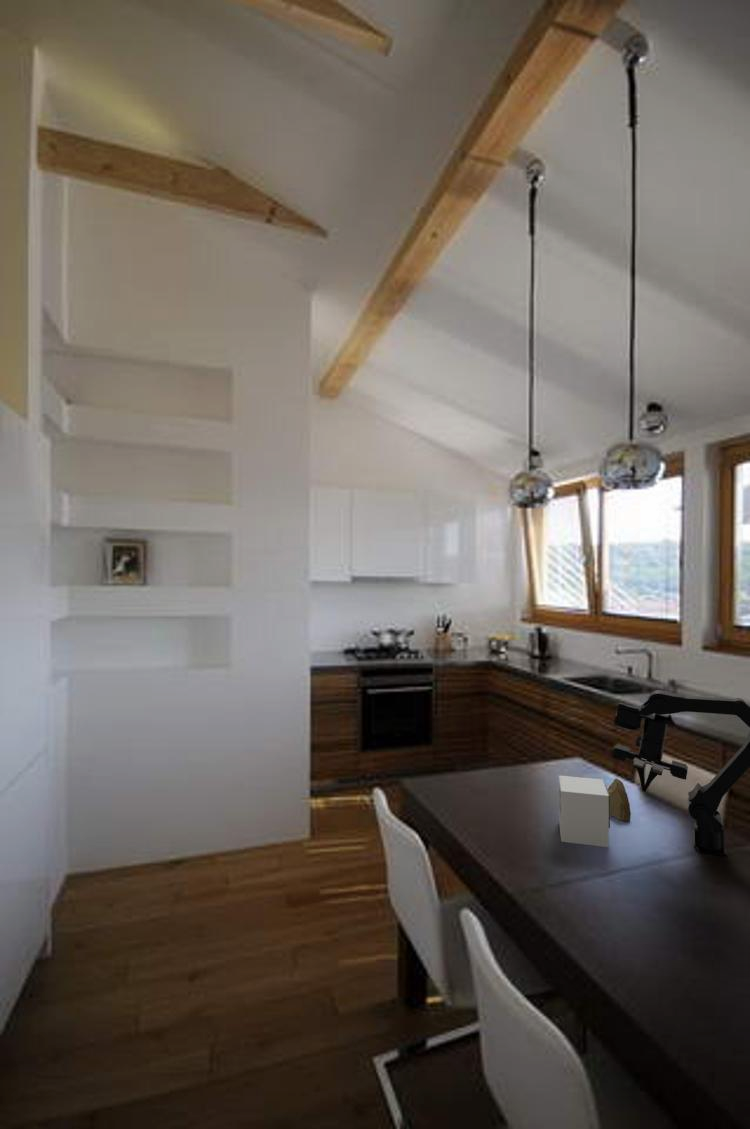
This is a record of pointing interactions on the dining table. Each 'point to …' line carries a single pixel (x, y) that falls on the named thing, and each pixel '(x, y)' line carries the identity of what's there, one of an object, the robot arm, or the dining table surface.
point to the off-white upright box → (584, 811)
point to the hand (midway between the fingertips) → (643, 791)
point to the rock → (619, 801)
